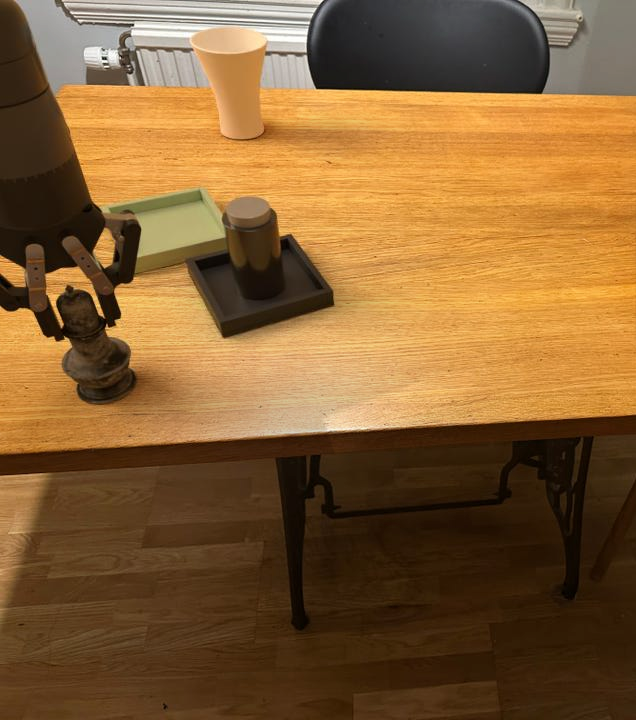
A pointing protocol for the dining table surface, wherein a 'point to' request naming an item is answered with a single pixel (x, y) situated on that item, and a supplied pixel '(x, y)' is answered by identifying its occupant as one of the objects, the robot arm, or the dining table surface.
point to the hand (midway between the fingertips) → (85, 327)
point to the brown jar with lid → (254, 248)
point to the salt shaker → (93, 351)
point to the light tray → (174, 227)
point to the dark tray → (244, 314)
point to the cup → (234, 76)
